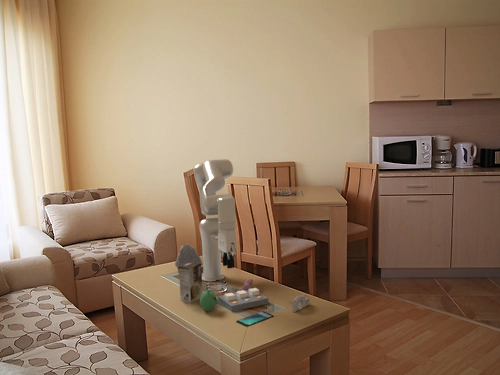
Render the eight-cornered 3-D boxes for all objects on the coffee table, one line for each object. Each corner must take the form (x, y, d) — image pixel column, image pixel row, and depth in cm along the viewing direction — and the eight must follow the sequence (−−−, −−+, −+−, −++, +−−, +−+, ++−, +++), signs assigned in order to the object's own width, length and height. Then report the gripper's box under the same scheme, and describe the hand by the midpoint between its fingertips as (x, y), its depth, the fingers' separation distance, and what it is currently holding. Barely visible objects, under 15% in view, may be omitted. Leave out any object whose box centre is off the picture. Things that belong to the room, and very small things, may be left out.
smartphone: (274, 315, 190) (246, 326, 181) (274, 317, 191) (246, 327, 181) (263, 310, 196) (235, 320, 186) (263, 312, 196) (235, 322, 186)
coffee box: (192, 294, 219) (190, 261, 217) (203, 296, 216) (201, 262, 214) (179, 300, 212) (178, 266, 210) (191, 303, 208) (189, 268, 206)
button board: (218, 301, 209) (218, 295, 209) (253, 294, 217) (253, 288, 217) (231, 311, 197) (231, 305, 196) (268, 303, 205) (268, 297, 204)
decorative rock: (177, 273, 253) (176, 246, 251) (173, 270, 259) (172, 244, 257) (205, 268, 260) (204, 242, 259) (200, 265, 266) (199, 240, 264)
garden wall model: (306, 303, 203) (306, 290, 203) (310, 304, 202) (310, 291, 202) (290, 312, 194) (290, 298, 194) (294, 313, 193) (294, 299, 193)
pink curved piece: (245, 298, 216) (251, 285, 215) (237, 293, 217) (243, 281, 216) (249, 291, 226) (255, 278, 225) (241, 286, 227) (247, 274, 225)
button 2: (248, 294, 211) (248, 289, 211) (255, 293, 213) (255, 287, 212) (252, 297, 208) (252, 291, 208) (259, 295, 210) (259, 290, 209)
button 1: (224, 300, 206) (224, 294, 205) (231, 298, 207) (231, 292, 207) (227, 302, 202) (227, 296, 202) (235, 300, 204) (235, 295, 204)
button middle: (236, 297, 208) (236, 291, 208) (243, 295, 210) (243, 290, 210) (240, 299, 205) (239, 293, 205) (247, 298, 207) (247, 292, 206)
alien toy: (219, 312, 196) (218, 289, 195) (201, 314, 195) (200, 291, 194) (217, 306, 203) (216, 284, 202) (199, 308, 202) (198, 286, 200)
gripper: (211, 223, 207) (213, 263, 209) (227, 229, 192) (228, 273, 194) (226, 221, 210) (228, 261, 212) (243, 227, 195) (244, 270, 197)
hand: (228, 266), depth 203 cm, fingers open, 3 cm apart
